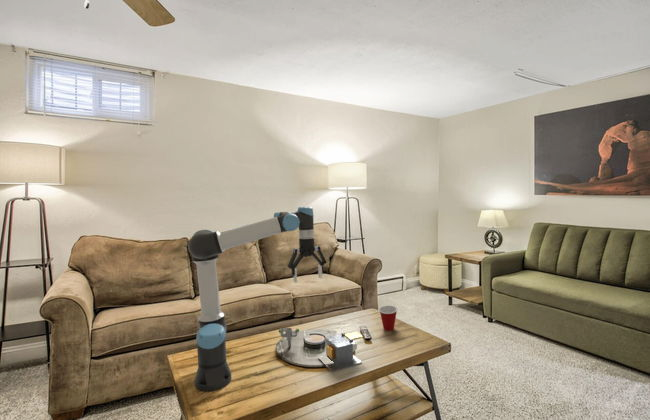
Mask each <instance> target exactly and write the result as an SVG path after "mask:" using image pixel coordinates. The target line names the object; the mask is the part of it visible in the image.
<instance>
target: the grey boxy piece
mask: <svg viewBox="0 0 650 420" xmlns="http://www.w3.org/2000/svg"><path fill="white" fill-rule="evenodd" d="M344 334H346V332H341V333H339V334H335V335H331V336H327V337H325V351H326V352H325V353H326V355H325V356H327V357H328V358H329V359H330V360H331V361H333V362H334V364H331V365H326V366H325V368H327V370H329V371H330V373H334V372H338V371H341V370H343V369H346V368H347V369H348V368H351V367H354V366H357V365H360V364H362V363H363V362H362V360H361V359H359V358H358V357H356V355H354V350H353V342H354V340H353V339H352V338H351V339H347V338H346V337H345V336H344ZM327 345H330V346H331V347H332V348H333V349H334V359H331V358H330V357H329V356H328V355H327ZM323 356H324V355H323ZM323 356H321V357H323Z"/></svg>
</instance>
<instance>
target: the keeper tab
mask: <svg viewBox="0 0 650 420" xmlns="http://www.w3.org/2000/svg"><path fill="white" fill-rule="evenodd" d="M344 337H345V338H346V339H347V340H349V339H351V338H352V339H353V341H355V340H361V339H363V338H364V336H363V334H360V333H359V332H357V331H354V332H353V331H352V332H349V333H345V334H344Z"/></svg>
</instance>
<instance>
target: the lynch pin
mask: <svg viewBox="0 0 650 420" xmlns="http://www.w3.org/2000/svg"><path fill="white" fill-rule="evenodd" d="M356 350H358V343H356V342H355V341H353V351H356ZM327 355H328V356H329V357H330V358H331V359H334V349H333V348H332V347H331V346H330V345H327Z"/></svg>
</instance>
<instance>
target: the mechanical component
mask: <svg viewBox="0 0 650 420" xmlns="http://www.w3.org/2000/svg"><path fill="white" fill-rule="evenodd" d="M299 332H300V329H299V328H295V330H293V329H292V327H280V329H278V333H280V337H281V338H286V340H287V348H288V347H291V348H292V338H296V337H297V336H298V333H299Z"/></svg>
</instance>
